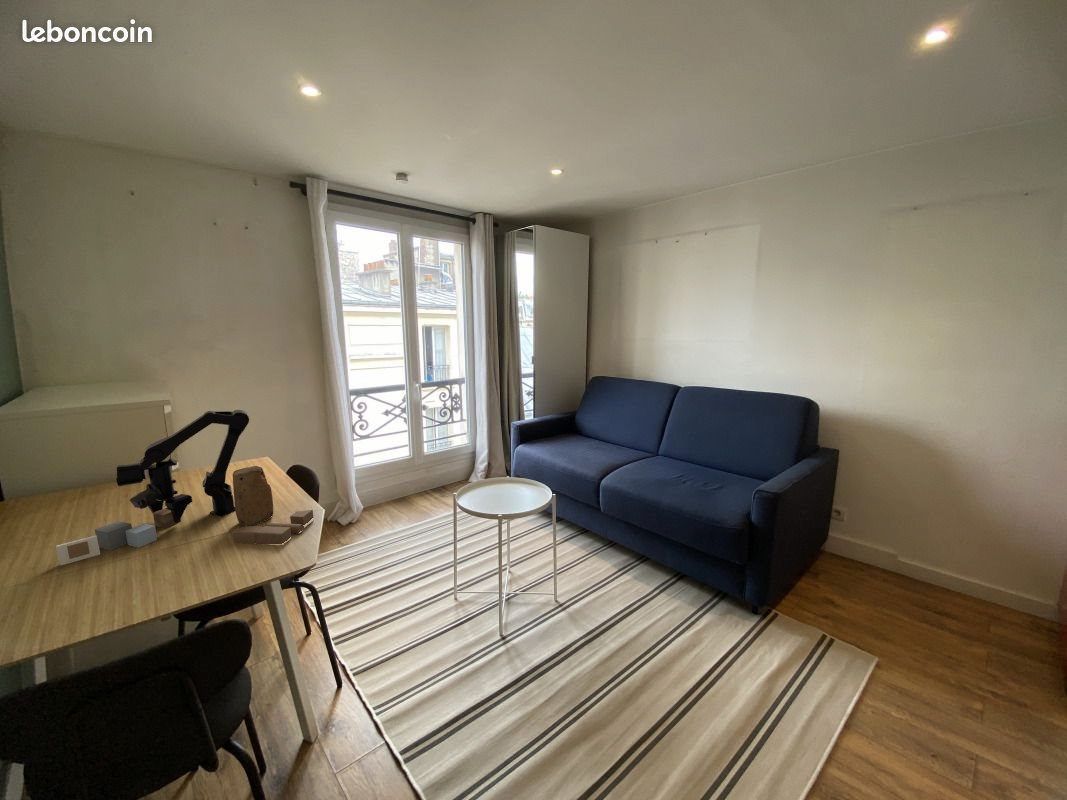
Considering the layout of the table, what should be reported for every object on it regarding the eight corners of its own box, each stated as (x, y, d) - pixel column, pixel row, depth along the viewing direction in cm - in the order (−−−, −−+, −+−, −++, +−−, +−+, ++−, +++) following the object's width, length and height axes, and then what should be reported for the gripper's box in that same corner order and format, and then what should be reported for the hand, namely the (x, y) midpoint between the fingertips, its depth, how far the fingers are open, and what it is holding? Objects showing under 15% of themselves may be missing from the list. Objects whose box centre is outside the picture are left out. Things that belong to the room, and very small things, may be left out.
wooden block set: (283, 531, 128) (230, 528, 129) (285, 547, 129) (232, 544, 130) (315, 507, 144) (267, 505, 146) (316, 521, 145) (269, 519, 147)
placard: (60, 564, 117) (56, 545, 116) (100, 553, 123) (96, 535, 122) (60, 566, 116) (55, 547, 115) (100, 554, 122) (96, 536, 121)
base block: (134, 540, 130) (131, 523, 129) (110, 550, 125) (107, 532, 124) (121, 537, 132) (118, 520, 131) (97, 547, 126) (94, 529, 125)
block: (239, 529, 138) (232, 475, 135) (236, 522, 144) (229, 469, 140) (276, 519, 146) (270, 467, 142) (271, 512, 151) (265, 462, 147)
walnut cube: (181, 521, 143) (179, 508, 142) (165, 528, 138) (163, 515, 137) (171, 519, 144) (169, 506, 144) (155, 526, 140) (152, 512, 139)
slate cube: (157, 540, 131) (154, 525, 130) (138, 547, 126) (136, 533, 125) (146, 537, 132) (144, 523, 132) (127, 545, 128) (125, 530, 127)
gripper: (113, 484, 133) (121, 527, 136) (152, 491, 128) (160, 536, 131) (152, 473, 144) (159, 513, 147) (190, 479, 139) (196, 521, 142)
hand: (167, 521), depth 141 cm, fingers open, 9 cm apart
